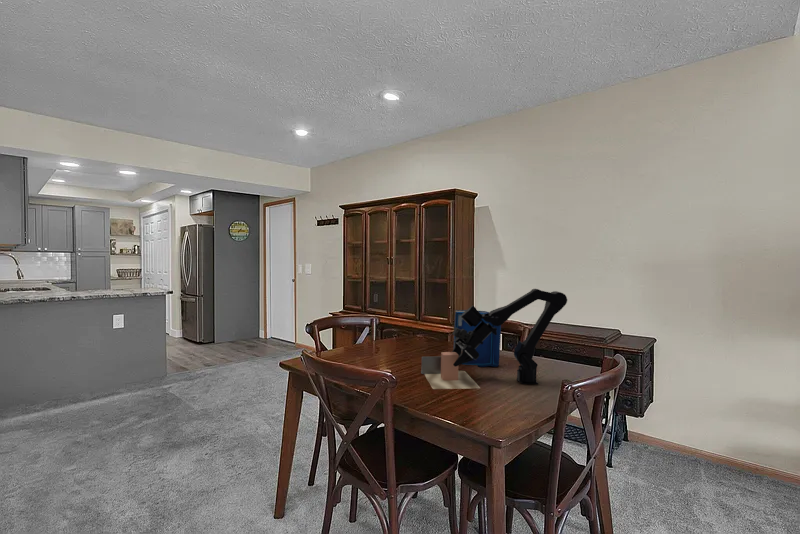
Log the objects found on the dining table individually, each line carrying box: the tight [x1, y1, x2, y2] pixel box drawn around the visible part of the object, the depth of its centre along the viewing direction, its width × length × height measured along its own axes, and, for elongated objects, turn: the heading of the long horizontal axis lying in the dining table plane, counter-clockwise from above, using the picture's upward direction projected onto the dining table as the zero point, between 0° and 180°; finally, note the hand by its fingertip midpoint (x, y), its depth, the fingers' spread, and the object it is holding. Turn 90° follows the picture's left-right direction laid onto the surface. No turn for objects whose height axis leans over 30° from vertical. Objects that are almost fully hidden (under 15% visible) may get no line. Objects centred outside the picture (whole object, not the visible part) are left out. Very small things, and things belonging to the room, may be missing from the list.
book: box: [452, 309, 502, 368], centre depth 194 cm, size 22×7×25 cm, turn 84°
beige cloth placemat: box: [424, 370, 481, 390], centre depth 168 cm, size 18×24×1 cm
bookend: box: [420, 355, 441, 375], centre depth 177 cm, size 12×3×7 cm, turn 96°
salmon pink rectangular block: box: [440, 351, 459, 380], centre depth 169 cm, size 6×5×10 cm
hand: (451, 362), depth 169 cm, fingers open, 9 cm apart
